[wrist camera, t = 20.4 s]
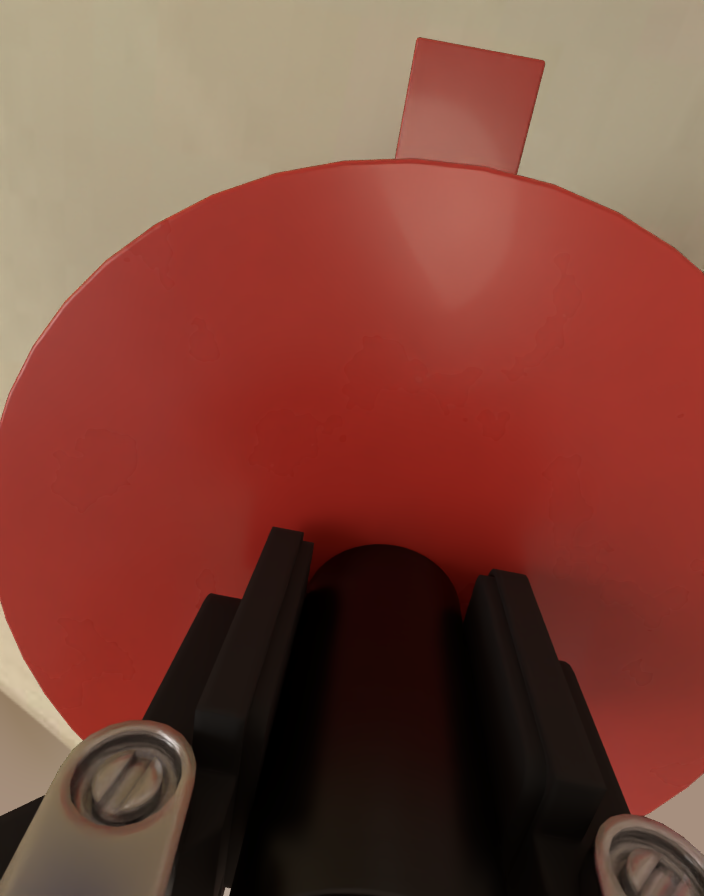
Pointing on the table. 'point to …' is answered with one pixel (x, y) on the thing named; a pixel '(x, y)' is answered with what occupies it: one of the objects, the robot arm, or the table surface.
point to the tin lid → (373, 491)
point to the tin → (468, 105)
